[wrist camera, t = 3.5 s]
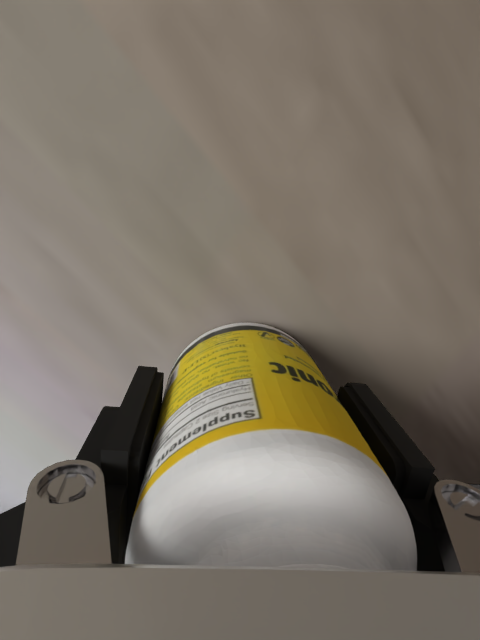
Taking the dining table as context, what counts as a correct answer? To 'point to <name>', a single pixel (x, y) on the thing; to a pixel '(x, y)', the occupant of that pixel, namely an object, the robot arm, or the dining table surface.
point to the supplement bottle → (263, 466)
